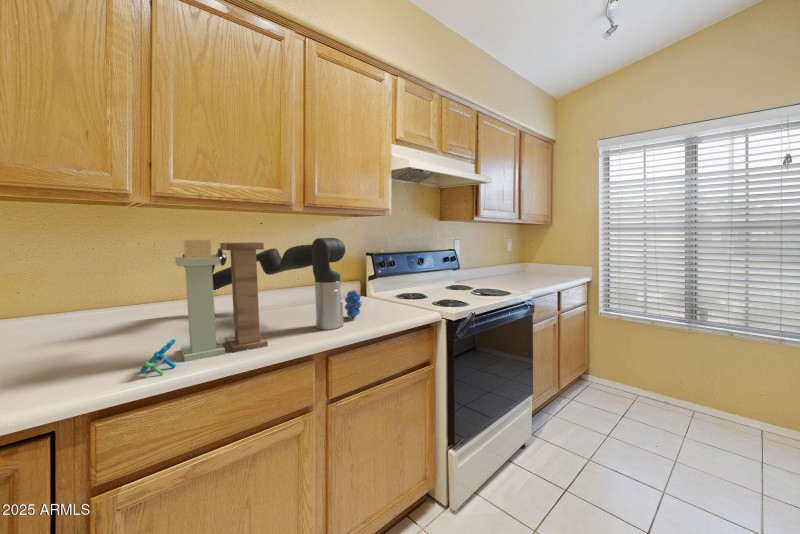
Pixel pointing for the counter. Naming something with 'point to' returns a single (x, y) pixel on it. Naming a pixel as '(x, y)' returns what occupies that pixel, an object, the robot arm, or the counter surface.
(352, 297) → the grapes
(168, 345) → the tinkertoy rod frame
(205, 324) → the short stand
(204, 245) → the tan wooden block
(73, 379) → the counter surface
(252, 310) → the tall stand
